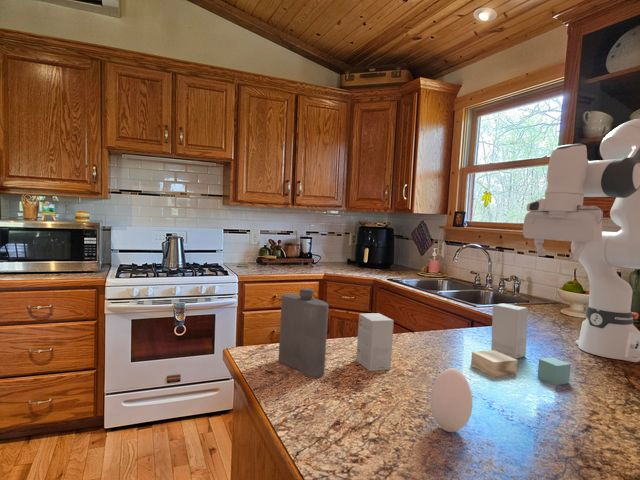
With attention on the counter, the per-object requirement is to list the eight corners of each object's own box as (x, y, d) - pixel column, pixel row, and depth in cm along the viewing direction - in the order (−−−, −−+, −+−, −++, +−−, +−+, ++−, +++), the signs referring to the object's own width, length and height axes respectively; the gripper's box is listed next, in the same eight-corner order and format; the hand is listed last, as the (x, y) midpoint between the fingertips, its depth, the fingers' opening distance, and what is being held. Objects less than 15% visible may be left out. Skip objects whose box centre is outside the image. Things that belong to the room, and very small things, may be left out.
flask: (330, 374, 99) (335, 293, 98) (313, 380, 95) (318, 295, 93) (291, 356, 109) (295, 283, 108) (274, 361, 105) (278, 285, 104)
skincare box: (525, 356, 121) (530, 308, 120) (514, 359, 118) (518, 309, 117) (500, 348, 128) (504, 302, 127) (488, 350, 125) (492, 303, 124)
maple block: (493, 364, 114) (494, 350, 114) (516, 374, 106) (517, 360, 106) (470, 366, 111) (472, 351, 111) (492, 377, 104) (494, 362, 103)
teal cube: (550, 375, 107) (552, 357, 106) (568, 383, 102) (570, 364, 102) (537, 377, 105) (539, 358, 105) (555, 385, 100) (557, 365, 100)
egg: (442, 416, 80) (446, 358, 80) (477, 432, 75) (482, 371, 74) (420, 427, 76) (425, 366, 75) (456, 446, 70) (461, 380, 69)
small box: (391, 369, 104) (394, 320, 103) (369, 371, 102) (372, 321, 101) (376, 358, 112) (379, 312, 111) (355, 360, 109) (358, 313, 109)
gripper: (611, 206, 98) (605, 263, 98) (537, 206, 117) (532, 254, 117) (594, 204, 95) (587, 262, 96) (521, 204, 114) (516, 253, 115)
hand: (556, 257), depth 107 cm, fingers open, 8 cm apart
